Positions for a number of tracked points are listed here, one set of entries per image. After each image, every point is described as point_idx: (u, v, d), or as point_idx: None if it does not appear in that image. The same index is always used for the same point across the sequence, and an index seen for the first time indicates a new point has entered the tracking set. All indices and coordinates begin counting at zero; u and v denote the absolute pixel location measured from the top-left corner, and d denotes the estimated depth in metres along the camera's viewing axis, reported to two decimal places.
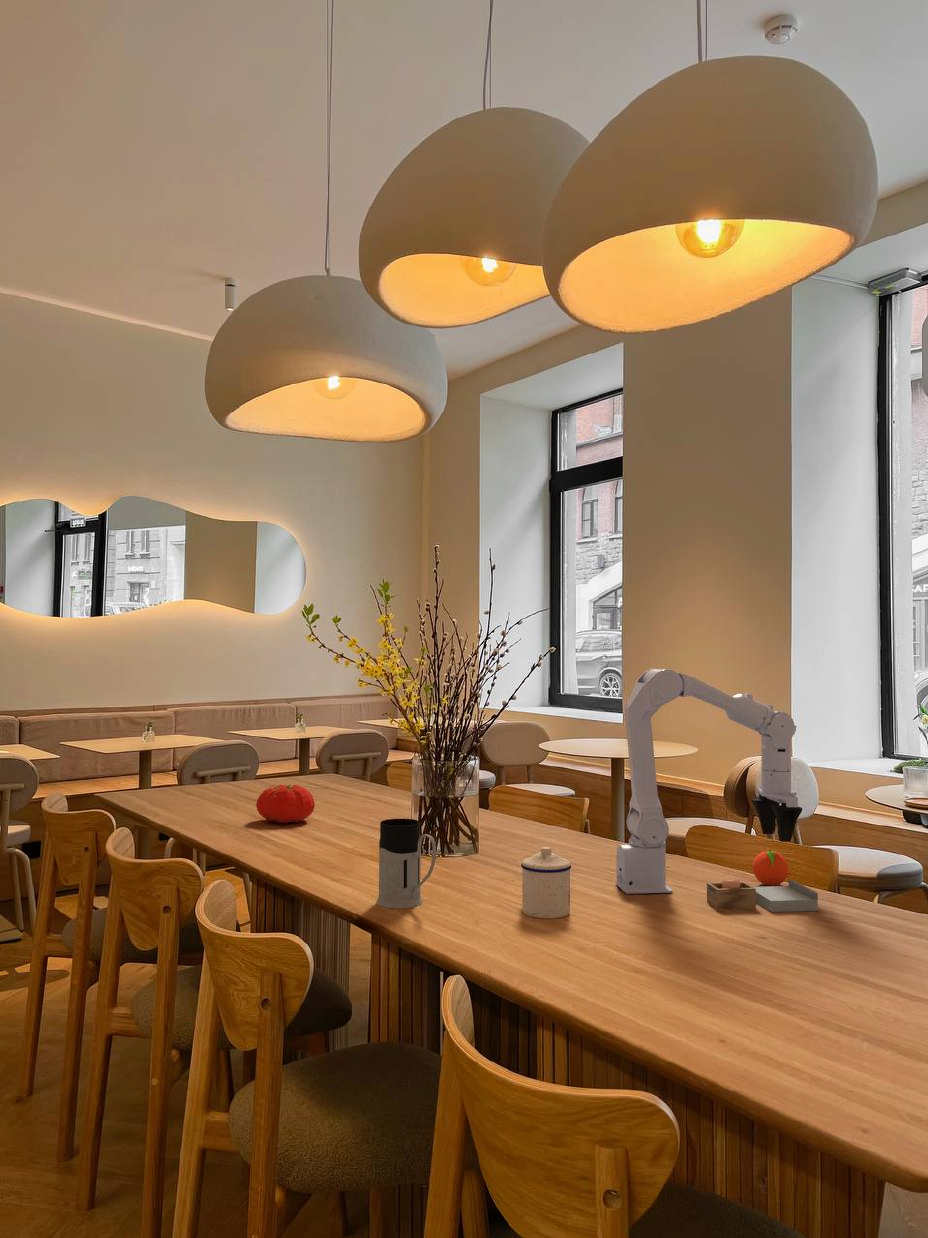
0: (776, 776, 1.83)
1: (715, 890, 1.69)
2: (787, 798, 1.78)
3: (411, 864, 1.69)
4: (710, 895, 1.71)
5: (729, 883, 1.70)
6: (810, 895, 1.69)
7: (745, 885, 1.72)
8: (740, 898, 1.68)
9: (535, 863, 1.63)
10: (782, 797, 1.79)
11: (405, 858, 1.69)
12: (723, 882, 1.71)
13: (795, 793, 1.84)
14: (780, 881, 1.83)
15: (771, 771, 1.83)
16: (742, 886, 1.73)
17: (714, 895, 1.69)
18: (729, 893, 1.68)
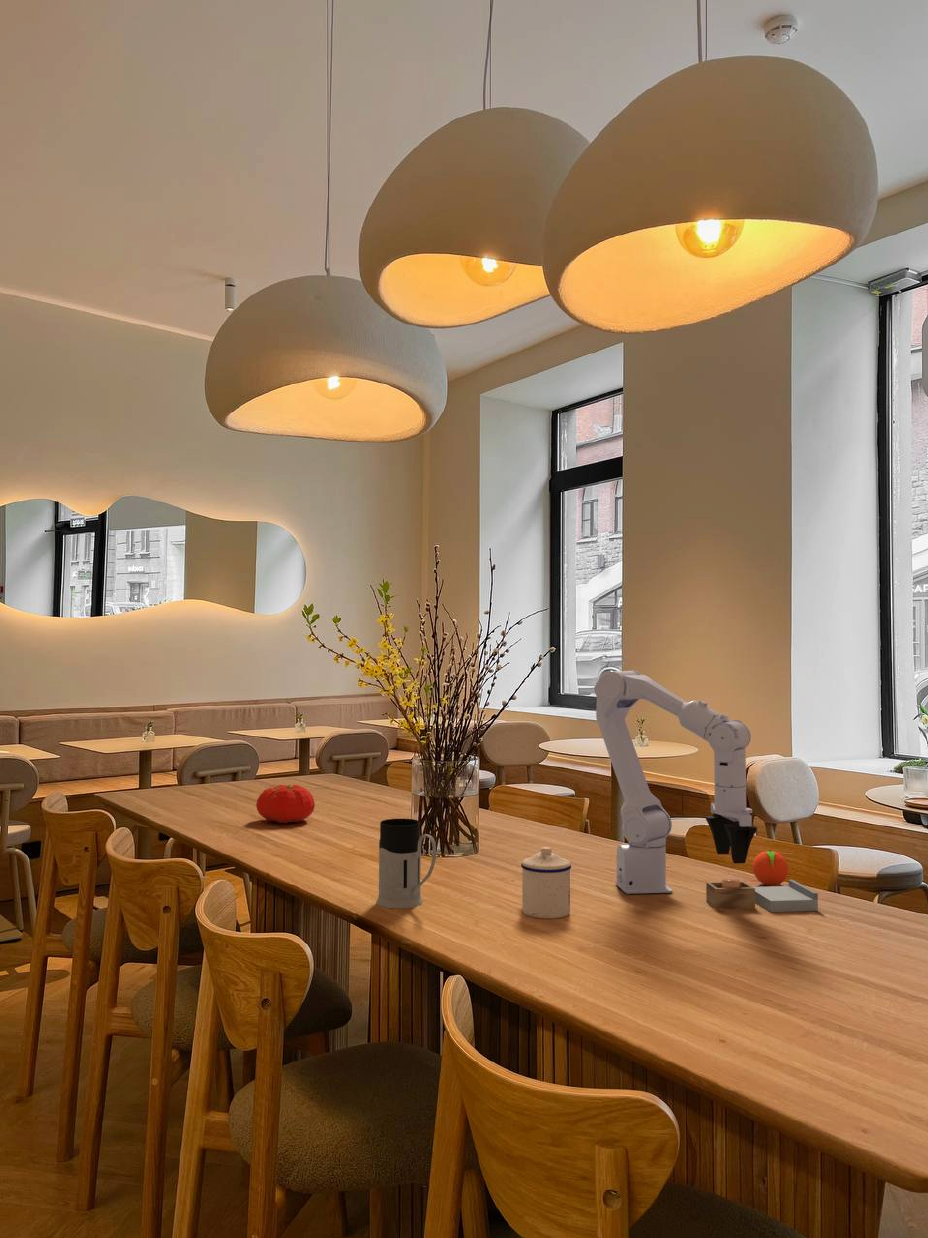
0: (729, 793, 1.69)
1: (714, 889, 1.69)
2: (740, 816, 1.64)
3: (411, 864, 1.69)
4: (709, 894, 1.71)
5: (729, 883, 1.70)
6: (810, 895, 1.69)
7: (744, 885, 1.72)
8: (739, 897, 1.69)
9: (535, 863, 1.63)
10: (735, 815, 1.66)
11: (405, 858, 1.69)
12: (723, 882, 1.71)
13: (751, 810, 1.71)
14: (780, 881, 1.83)
15: (724, 787, 1.69)
16: (742, 886, 1.73)
17: (713, 894, 1.69)
18: (728, 892, 1.69)
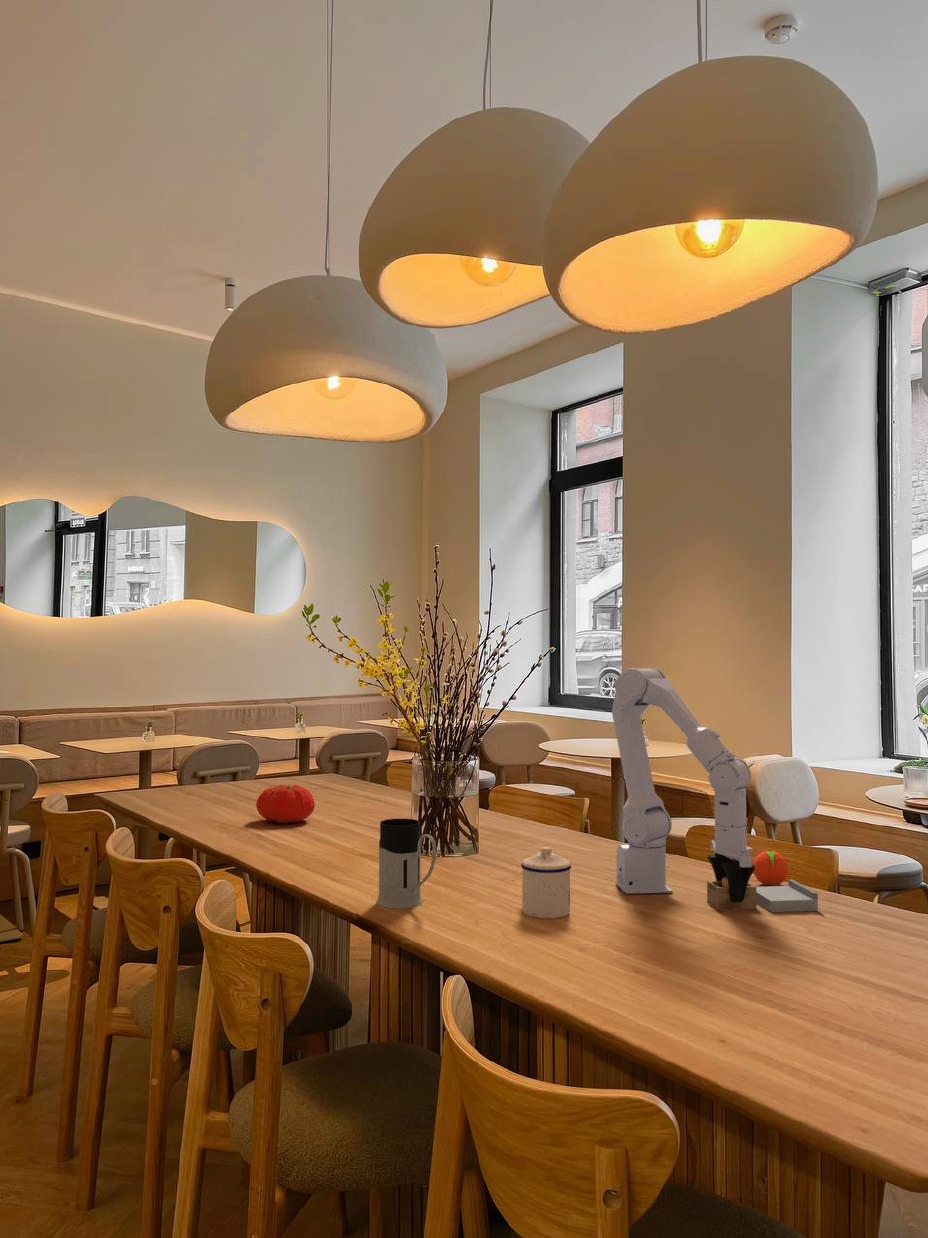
0: (729, 832, 1.69)
1: (716, 888, 1.69)
2: (740, 857, 1.64)
3: (411, 864, 1.69)
4: (711, 893, 1.71)
5: None
6: (810, 895, 1.69)
7: None
8: None
9: (535, 863, 1.63)
10: (735, 856, 1.66)
11: (405, 858, 1.69)
12: (723, 881, 1.71)
13: (751, 850, 1.71)
14: (780, 881, 1.83)
15: (724, 826, 1.69)
16: None
17: (715, 893, 1.69)
18: None
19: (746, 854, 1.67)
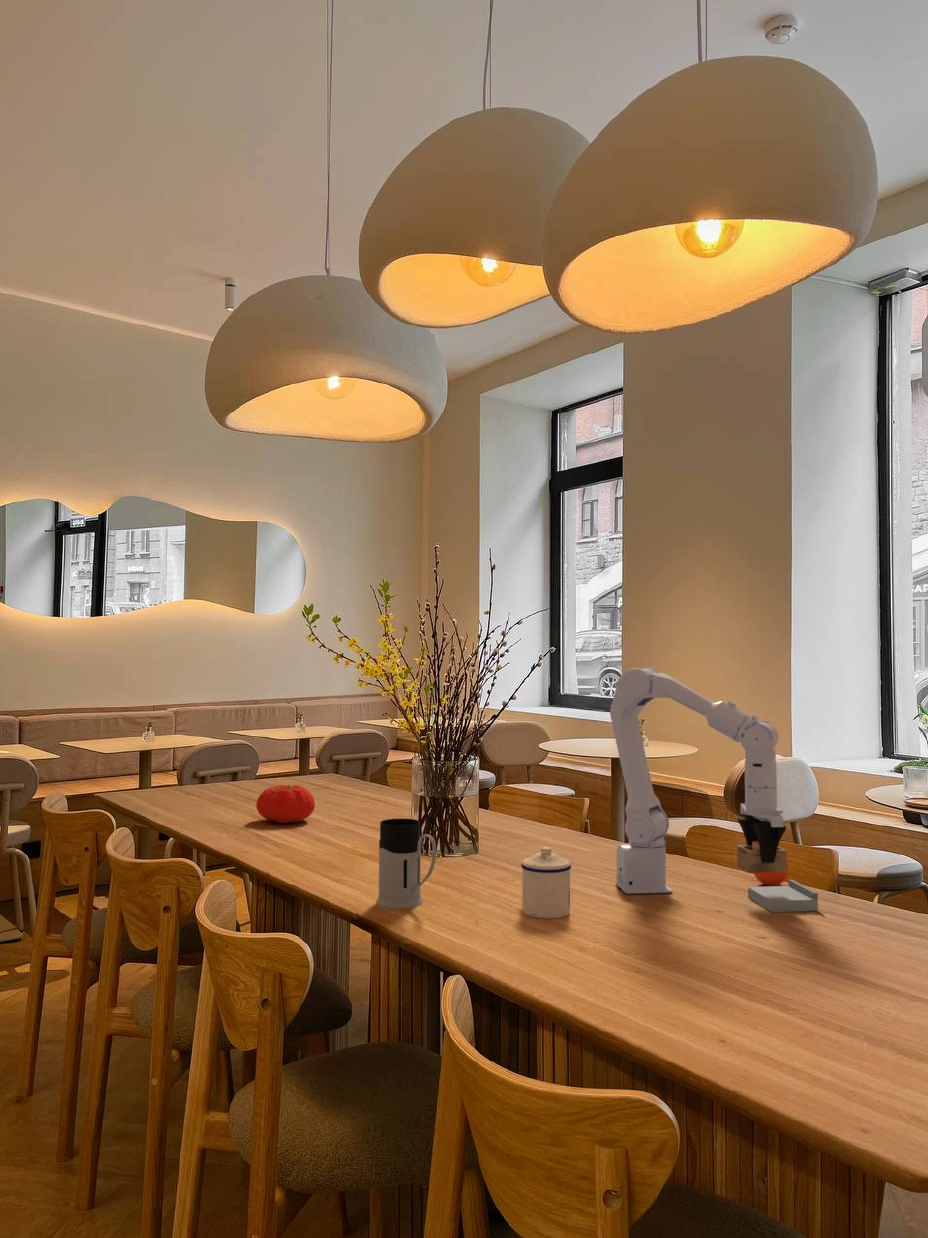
0: (760, 793, 1.70)
1: (746, 852, 1.69)
2: (772, 817, 1.65)
3: (411, 864, 1.69)
4: (741, 857, 1.72)
5: None
6: (810, 895, 1.69)
7: None
8: None
9: (535, 863, 1.63)
10: (766, 816, 1.67)
11: (405, 858, 1.69)
12: (753, 844, 1.71)
13: (781, 811, 1.72)
14: (780, 881, 1.83)
15: (755, 788, 1.70)
16: None
17: (745, 857, 1.70)
18: None
19: (777, 814, 1.67)
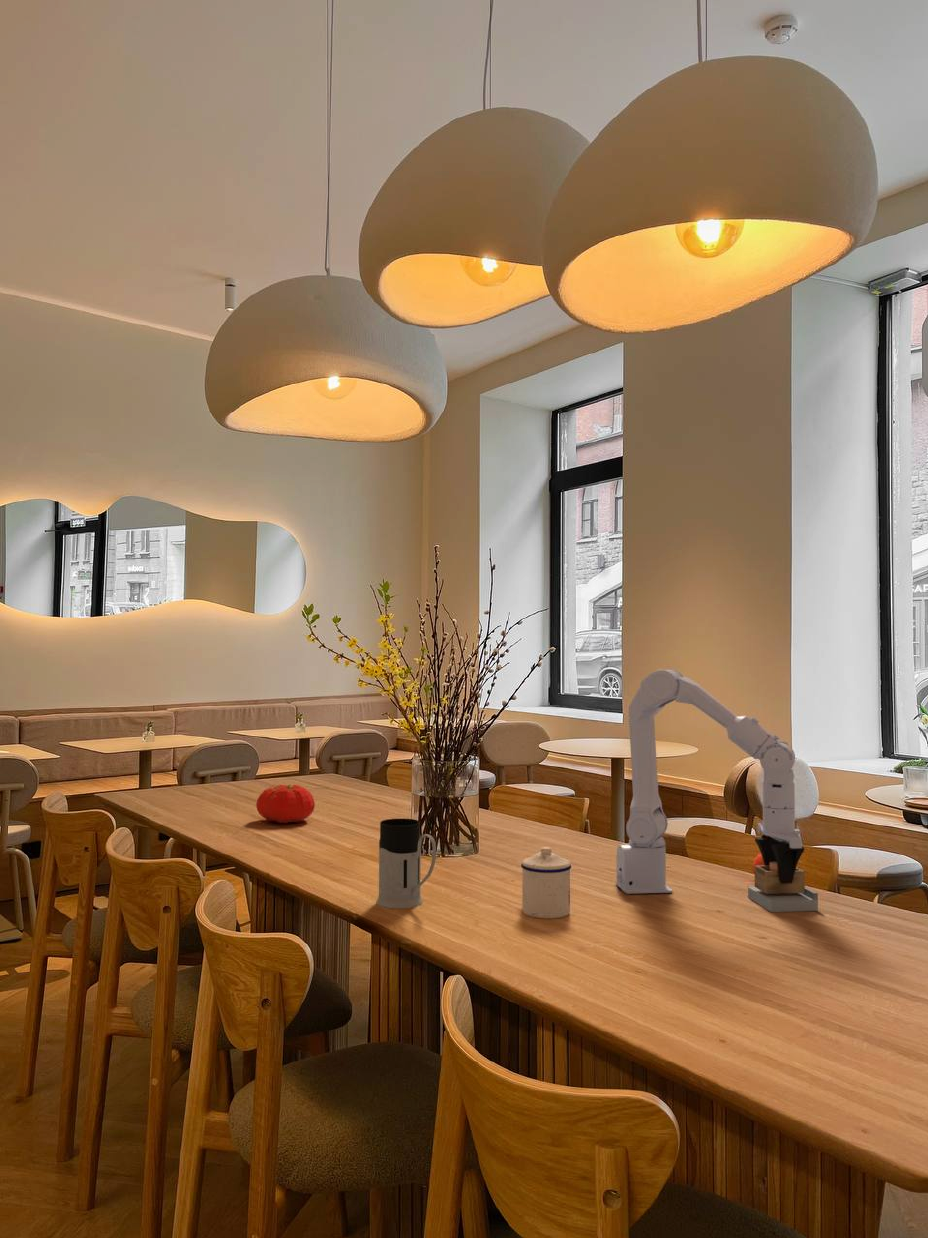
0: (778, 814, 1.70)
1: (764, 872, 1.70)
2: (790, 838, 1.65)
3: (411, 864, 1.69)
4: (759, 877, 1.72)
5: None
6: (810, 895, 1.69)
7: None
8: None
9: (535, 863, 1.63)
10: (785, 837, 1.67)
11: (405, 858, 1.69)
12: (771, 865, 1.72)
13: (799, 832, 1.72)
14: None
15: (773, 808, 1.70)
16: None
17: (763, 877, 1.70)
18: None
19: (795, 835, 1.68)
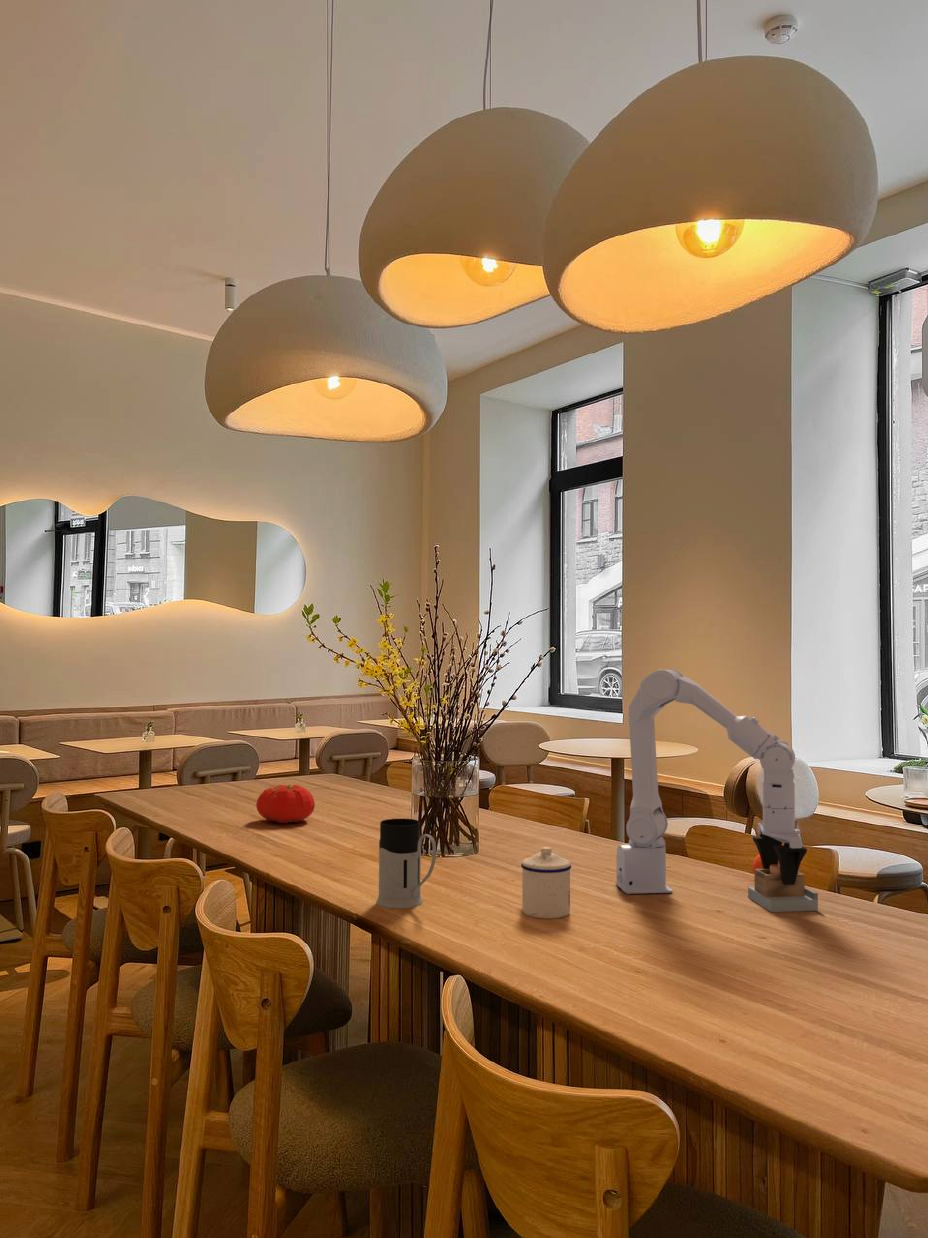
0: (778, 814, 1.70)
1: (764, 876, 1.70)
2: (790, 838, 1.65)
3: (411, 864, 1.69)
4: (759, 881, 1.72)
5: (777, 869, 1.71)
6: (810, 895, 1.69)
7: None
8: None
9: (535, 863, 1.63)
10: (785, 837, 1.67)
11: (405, 858, 1.69)
12: (771, 868, 1.72)
13: (799, 831, 1.72)
14: None
15: (773, 808, 1.70)
16: None
17: (763, 881, 1.70)
18: (778, 879, 1.69)
19: (795, 835, 1.68)
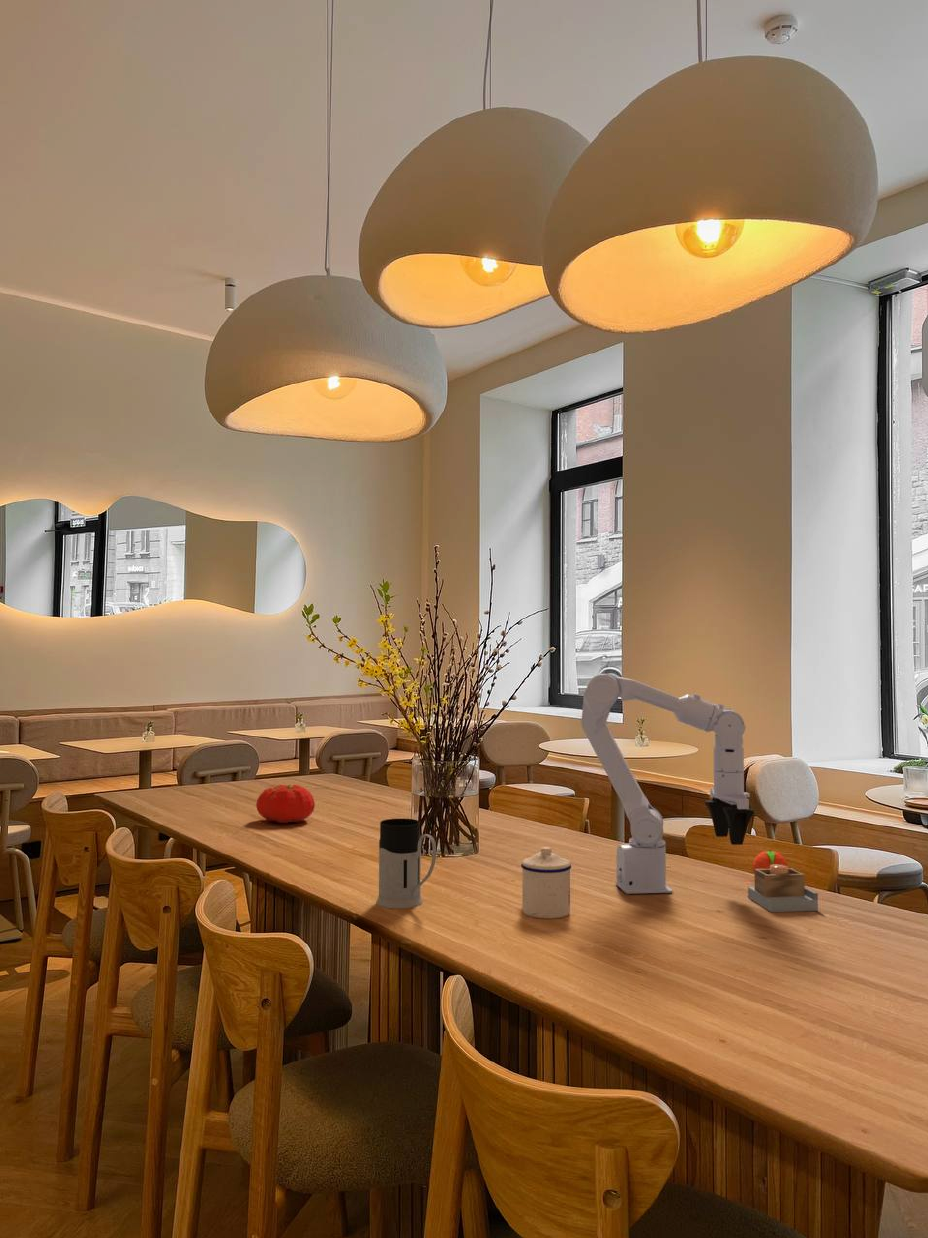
0: (727, 777, 1.77)
1: (764, 876, 1.70)
2: (738, 800, 1.73)
3: (411, 864, 1.69)
4: (759, 881, 1.72)
5: (776, 869, 1.71)
6: (810, 895, 1.69)
7: (793, 871, 1.73)
8: (789, 884, 1.70)
9: (535, 863, 1.63)
10: (733, 799, 1.74)
11: (405, 858, 1.69)
12: (770, 868, 1.72)
13: (748, 795, 1.79)
14: None
15: (723, 772, 1.78)
16: (789, 872, 1.74)
17: (763, 881, 1.70)
18: (778, 879, 1.69)
19: (743, 797, 1.75)
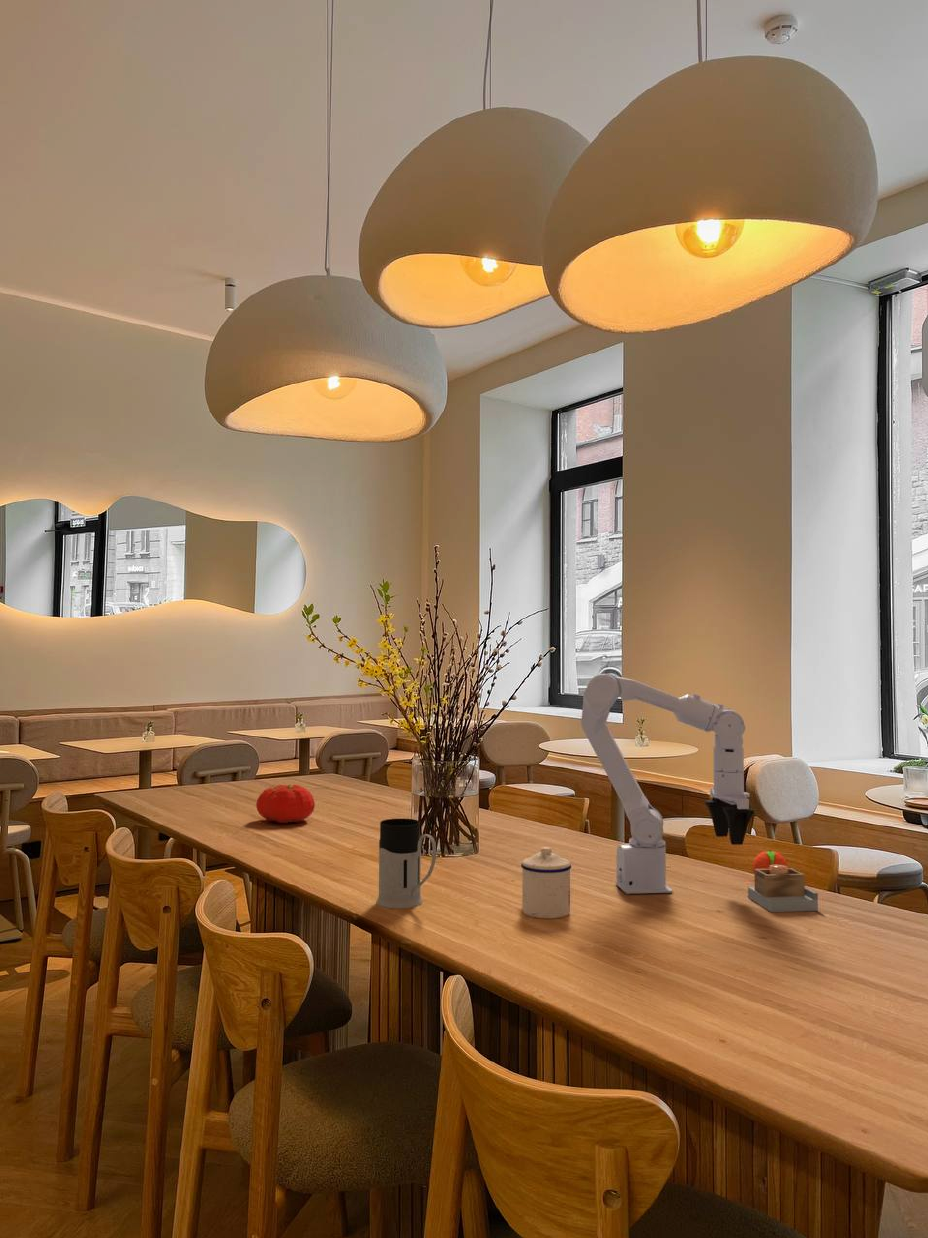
0: (727, 777, 1.77)
1: (764, 876, 1.70)
2: (738, 800, 1.73)
3: (411, 864, 1.69)
4: (759, 881, 1.72)
5: (775, 868, 1.71)
6: (810, 895, 1.69)
7: (793, 871, 1.73)
8: (789, 884, 1.70)
9: (535, 863, 1.63)
10: (733, 799, 1.74)
11: (405, 858, 1.69)
12: (770, 868, 1.72)
13: (748, 794, 1.79)
14: None
15: (723, 772, 1.78)
16: (789, 872, 1.74)
17: (763, 881, 1.70)
18: (778, 879, 1.69)
19: (743, 797, 1.75)
